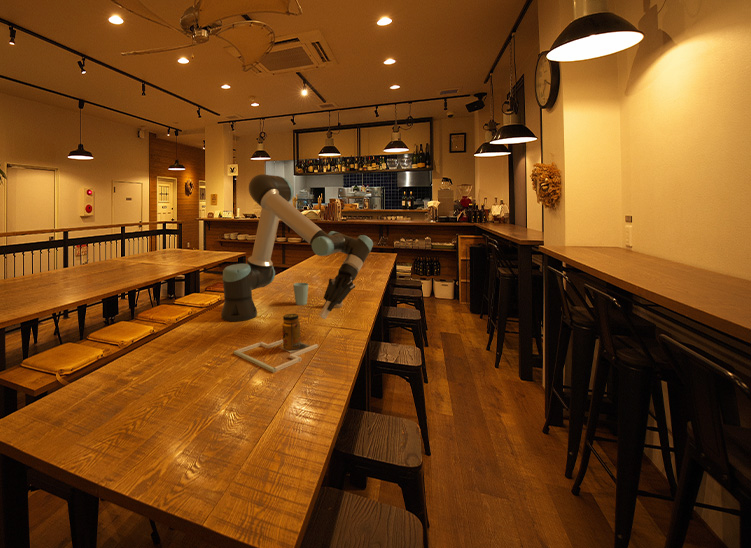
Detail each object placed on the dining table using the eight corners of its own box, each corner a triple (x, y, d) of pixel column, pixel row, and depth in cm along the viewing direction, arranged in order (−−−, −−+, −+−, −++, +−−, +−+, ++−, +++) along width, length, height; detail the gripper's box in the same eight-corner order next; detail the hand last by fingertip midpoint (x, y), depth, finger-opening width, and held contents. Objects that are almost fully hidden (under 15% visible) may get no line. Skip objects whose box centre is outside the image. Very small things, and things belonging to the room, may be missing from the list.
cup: (310, 304, 180) (310, 285, 178) (295, 306, 177) (294, 286, 175) (307, 301, 187) (306, 282, 185) (292, 302, 184) (291, 283, 182)
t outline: (233, 353, 120) (233, 351, 119) (286, 335, 137) (286, 333, 137) (273, 372, 106) (273, 369, 106) (325, 350, 123) (325, 347, 123)
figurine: (329, 304, 181) (328, 281, 179) (343, 304, 181) (342, 281, 179) (328, 308, 174) (328, 284, 172) (342, 308, 174) (342, 284, 172)
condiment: (278, 347, 125) (276, 315, 123) (297, 341, 132) (296, 310, 129) (290, 353, 121) (289, 320, 118) (310, 346, 127) (309, 314, 125)
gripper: (366, 275, 143) (339, 325, 133) (343, 271, 150) (315, 318, 141) (358, 264, 138) (329, 315, 128) (334, 261, 145) (305, 309, 135)
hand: (322, 317), depth 134 cm, fingers closed
